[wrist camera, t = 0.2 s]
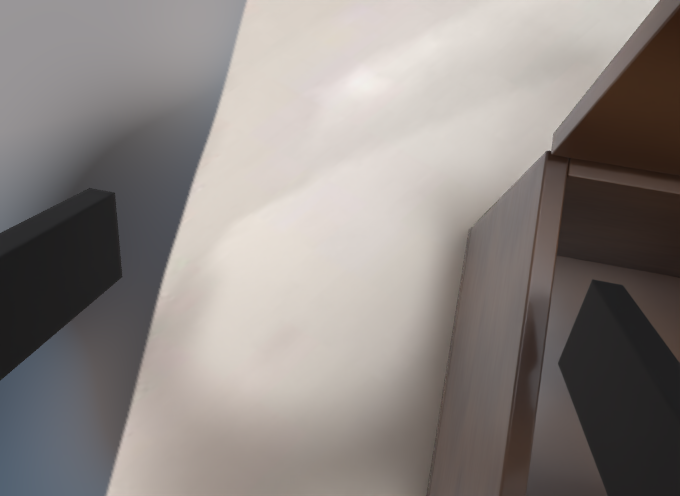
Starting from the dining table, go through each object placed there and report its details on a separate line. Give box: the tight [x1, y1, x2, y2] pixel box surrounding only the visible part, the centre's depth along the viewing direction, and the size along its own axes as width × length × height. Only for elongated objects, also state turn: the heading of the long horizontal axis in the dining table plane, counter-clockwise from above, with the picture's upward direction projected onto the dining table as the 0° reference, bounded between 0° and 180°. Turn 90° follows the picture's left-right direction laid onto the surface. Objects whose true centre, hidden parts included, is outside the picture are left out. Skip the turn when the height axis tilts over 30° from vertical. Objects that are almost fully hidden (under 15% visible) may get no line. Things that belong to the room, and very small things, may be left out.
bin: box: [427, 151, 680, 496], centre depth 21 cm, size 16×17×13 cm
